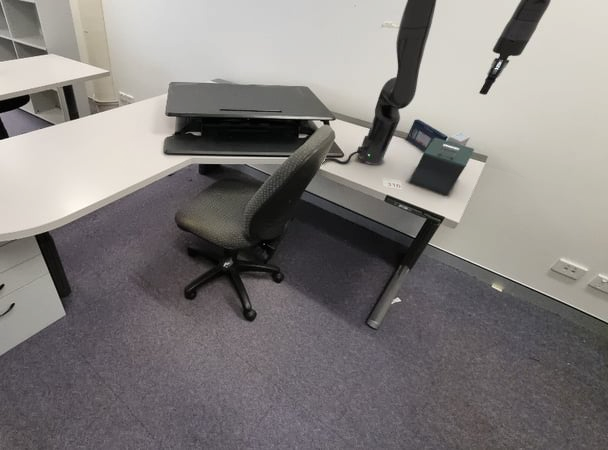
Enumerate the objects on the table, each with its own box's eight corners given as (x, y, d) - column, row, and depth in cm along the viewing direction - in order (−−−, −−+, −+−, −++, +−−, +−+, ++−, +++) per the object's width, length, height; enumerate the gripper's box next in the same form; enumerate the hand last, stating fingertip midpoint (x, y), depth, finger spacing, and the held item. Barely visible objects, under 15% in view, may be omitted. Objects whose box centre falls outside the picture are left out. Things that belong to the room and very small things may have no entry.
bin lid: (464, 167, 114) (472, 154, 111) (423, 154, 120) (429, 141, 117) (473, 150, 123) (480, 138, 120) (434, 139, 130) (440, 127, 127)
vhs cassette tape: (405, 139, 158) (414, 119, 152) (410, 138, 159) (420, 119, 152) (431, 158, 145) (442, 137, 138) (437, 157, 145) (448, 136, 139)
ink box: (446, 166, 139) (460, 141, 132) (434, 161, 142) (448, 136, 135) (456, 161, 143) (471, 136, 135) (445, 156, 146) (459, 131, 138)
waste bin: (446, 196, 123) (465, 166, 114) (408, 182, 129) (423, 153, 121) (455, 179, 132) (473, 150, 123) (419, 167, 138) (434, 139, 130)
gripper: (503, 31, 106) (473, 86, 117) (497, 37, 98) (466, 95, 110) (532, 35, 102) (498, 91, 114) (528, 41, 95) (492, 101, 106)
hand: (482, 93), depth 112 cm, fingers closed
